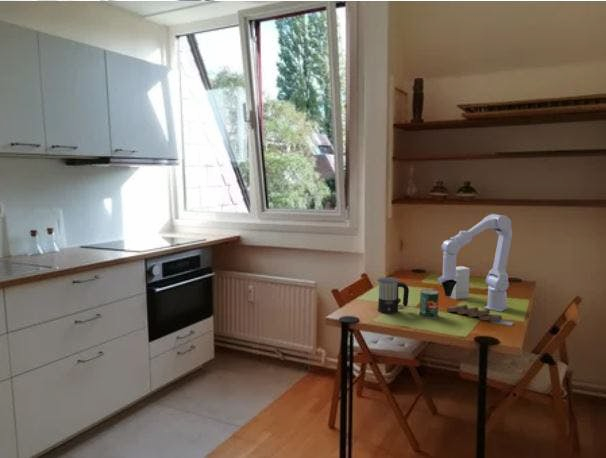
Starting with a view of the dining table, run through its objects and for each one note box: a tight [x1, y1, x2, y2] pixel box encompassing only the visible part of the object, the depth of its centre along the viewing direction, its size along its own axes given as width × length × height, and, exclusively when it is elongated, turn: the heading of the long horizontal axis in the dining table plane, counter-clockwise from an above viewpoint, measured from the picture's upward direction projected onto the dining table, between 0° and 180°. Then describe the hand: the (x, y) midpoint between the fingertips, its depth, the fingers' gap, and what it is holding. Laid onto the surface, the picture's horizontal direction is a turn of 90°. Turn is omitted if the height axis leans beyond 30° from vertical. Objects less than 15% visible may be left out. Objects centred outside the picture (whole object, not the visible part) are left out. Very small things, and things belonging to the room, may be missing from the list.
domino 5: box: [490, 319, 515, 327], centre depth 191 cm, size 4×2×8 cm
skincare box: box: [449, 265, 471, 301], centre depth 229 cm, size 8×7×16 cm
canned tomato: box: [418, 288, 440, 319], centre depth 200 cm, size 8×8×11 cm
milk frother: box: [377, 276, 410, 315], centre depth 210 cm, size 14×16×15 cm
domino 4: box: [478, 313, 503, 322], centre depth 194 cm, size 4×2×8 cm
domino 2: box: [456, 306, 480, 315], centre depth 201 cm, size 4×2×8 cm
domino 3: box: [467, 309, 491, 318], centre depth 198 cm, size 4×2×8 cm
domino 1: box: [446, 304, 469, 313], centre depth 204 cm, size 4×2×8 cm
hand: (448, 296), depth 207 cm, fingers closed
